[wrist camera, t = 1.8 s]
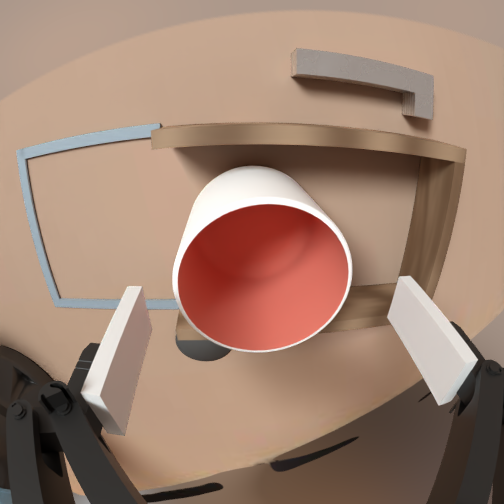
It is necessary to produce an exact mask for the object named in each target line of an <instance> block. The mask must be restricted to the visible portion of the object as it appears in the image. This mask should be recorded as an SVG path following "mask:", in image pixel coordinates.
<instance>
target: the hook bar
mask: <svg viewBox="0 0 504 504" xmlns="http://www.w3.org/2000/svg"><path fill="white" fill-rule="evenodd" d="M291 77H300V78H312V79H322V80H331V81H339V82H346V83H353V84H359V85H366V86H371V87H377V88H382V89H387V90H392V91H396V92H401V93H403V104H402V115H407V116H412V117H417V118H423V119H430V120H433V90H434V78H433V76H432V75H429V74H426V73H423V72H419V71H416V70H413V69H409V68H405V67H402V66H398V65H394V64H390V63H386V62H381V61H377V60H372V59H368V58H362V57H357V56H352V55H346V54H340V53H333V52H326V51H318V50H309V49H299V48H296V49H295V50H294V51H293V52H292V53H291Z"/></svg>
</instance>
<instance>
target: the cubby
mask: <svg viewBox="0 0 504 504" xmlns="http://www.w3.org/2000/svg"><path fill="white" fill-rule="evenodd" d="M151 143H152V149H162V148H174V147H189V146H207V145H238V144H282V145H313V146H331V147H346V148H358V149H369V150H379V151H388V152H396V153H404V154H411V155H418V156H421V159H420V168H419V175H418V183H417V190H416V196H415V202H414V208H413V214H412V219H411V224H410V230H409V234H408V239H407V244H406V248H405V253H404V257H403V261H402V265H401V269H400V273H399V276H411V277H412V278H413V279H414V280H415V282H416V283H417V284H418V285H419V286H420V287H421V288H422V290H423V291H424V292H425V293H426V294H427V295H428V297H429V298H430V299H431V300H432V298H433V296H434V293H435V290H436V287H437V284H438V281H439V277H440V274H441V271H442V268H443V264H444V261H445V257H446V254H447V250H448V246H449V243H450V239H451V235H452V230H453V226H454V222H455V217H456V213H457V208H458V203H459V197H460V192H461V186H462V180H463V173H464V166H465V159H466V150H467V149H464V148H461V147H457V146H454V145H450V144H446V143H443V142H439V141H435V140H431V139H426V138H421V137H415V136H409V135H403V134H397V133H391V132H384V131H376V130H368V129H360V128H351V127H340V126H328V125H314V124H296V123H211V124H193V125H179V126H167V127H163V128H159V129H155V130H151ZM398 278H399V277H398ZM397 282H398V281H397ZM396 286H397V283H390V284H379V285H367V286H354V287H350V290H349V292H348V295H347V298H346V300H345V302H344V304H343V305H342V307H341V309H340V310H339V312H338V313H337V315H336V316H335V317H334V318H333V319H332V321H331V322H330V323H329V324H328V325H327V326H326V327H325V328H323V329H322V330H321V331H320V332H318V333H328V332H337V331H346V330H354V329H362V328H369V327H376V326H383V325H390V324H391V323H390V321H389V319H388V318H387V316H388V313H389V310H390V306H391V303H392V300H393V296H394V293H395V289H396ZM176 333H177V338H178V340H208V339H207V338H205V337H204V336H202V335H201V334H200V333H198V332H197V331H196V330H195V329H194V328H193V327H192V326H191V325H190V324H189V323H188V322H187V320H186V319H185V317H184V316H183V315H182V313H181V311H180V310H179V315H178V320H177V326H176ZM318 333H317V334H318Z"/></svg>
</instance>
